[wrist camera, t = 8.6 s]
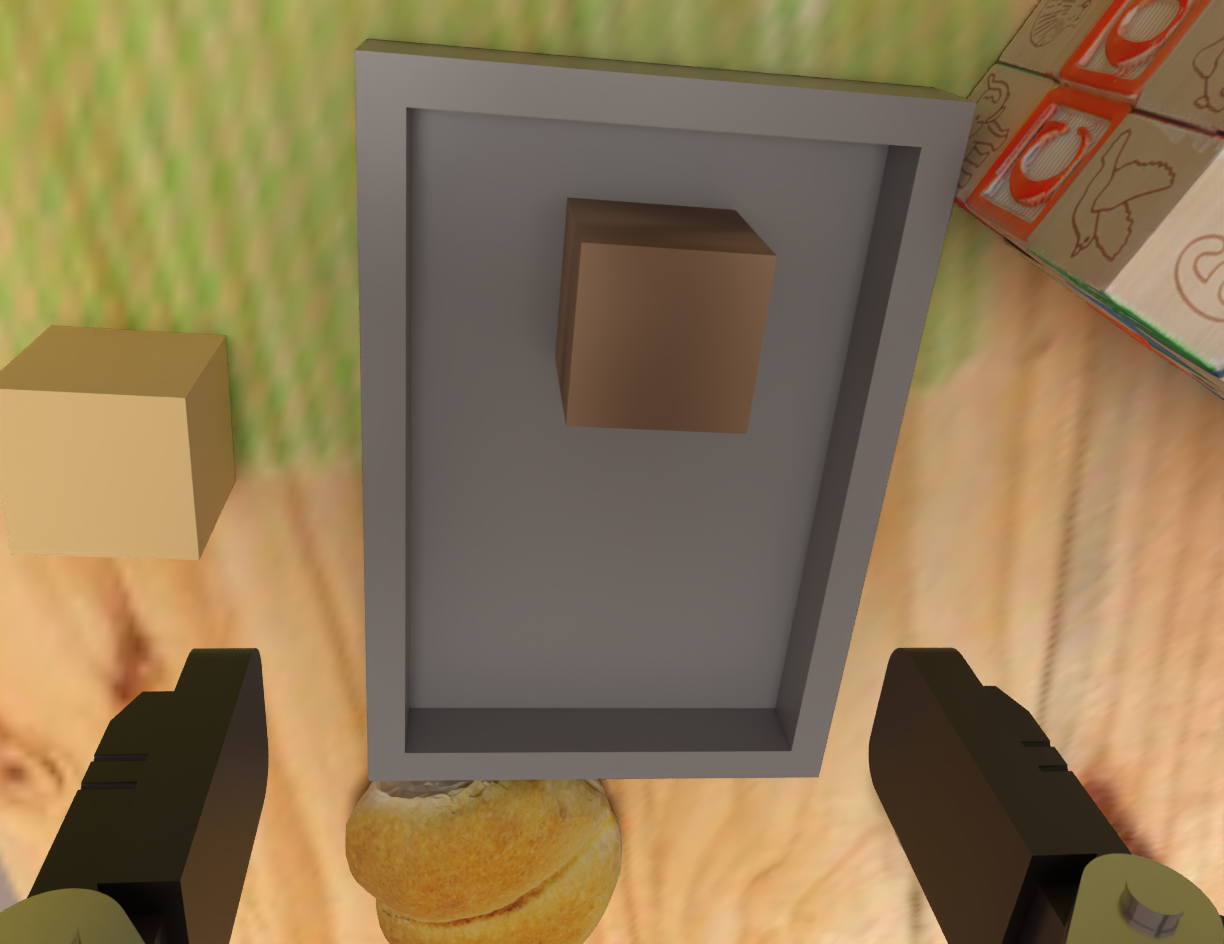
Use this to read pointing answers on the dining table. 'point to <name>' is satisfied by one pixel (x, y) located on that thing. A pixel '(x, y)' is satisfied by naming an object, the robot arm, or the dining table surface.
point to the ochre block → (115, 443)
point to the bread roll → (486, 859)
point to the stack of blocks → (1113, 165)
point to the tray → (613, 457)
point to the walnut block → (660, 316)
